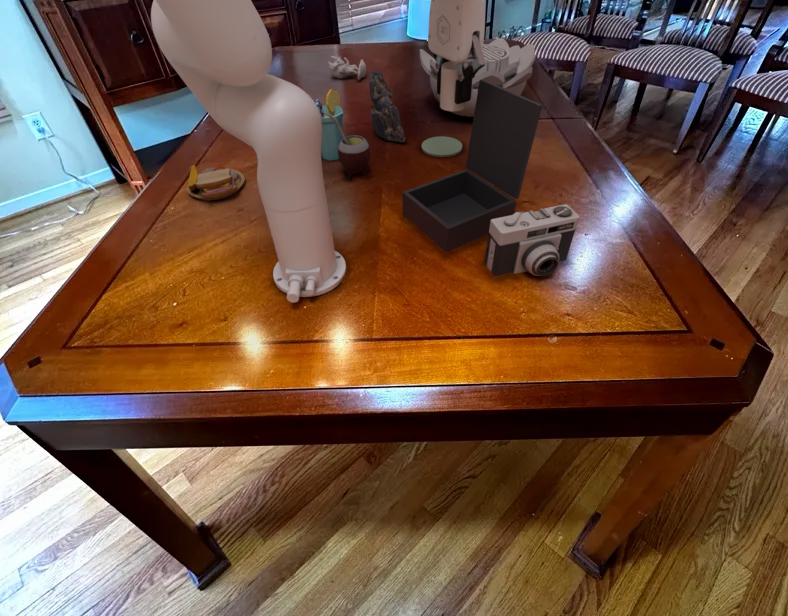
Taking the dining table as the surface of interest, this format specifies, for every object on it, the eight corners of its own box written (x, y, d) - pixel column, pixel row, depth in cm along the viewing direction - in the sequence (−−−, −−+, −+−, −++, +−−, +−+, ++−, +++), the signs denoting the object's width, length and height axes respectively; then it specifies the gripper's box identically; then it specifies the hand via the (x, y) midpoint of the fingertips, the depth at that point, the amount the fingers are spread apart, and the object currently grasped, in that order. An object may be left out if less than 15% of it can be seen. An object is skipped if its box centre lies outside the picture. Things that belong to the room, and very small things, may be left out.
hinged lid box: (446, 255, 81) (447, 228, 77) (402, 217, 90) (402, 191, 86) (511, 227, 86) (516, 200, 82) (464, 194, 95) (466, 168, 91)
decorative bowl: (554, 121, 119) (568, 59, 109) (454, 142, 112) (459, 78, 102) (495, 84, 139) (502, 29, 129) (407, 100, 132) (407, 43, 122)
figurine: (365, 68, 140) (327, 61, 140) (363, 88, 145) (326, 81, 144) (368, 56, 147) (332, 49, 146) (366, 76, 151) (331, 70, 150)
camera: (503, 294, 73) (512, 245, 66) (482, 263, 79) (489, 215, 72) (578, 276, 76) (596, 227, 69) (553, 248, 81) (566, 200, 74)
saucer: (464, 156, 107) (464, 154, 106) (422, 157, 107) (422, 155, 107) (459, 137, 114) (459, 135, 114) (420, 139, 114) (420, 137, 114)
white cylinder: (467, 111, 81) (470, 69, 76) (440, 112, 82) (442, 70, 77) (464, 100, 85) (467, 60, 80) (439, 101, 85) (440, 61, 80)
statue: (395, 148, 111) (393, 84, 100) (366, 132, 118) (361, 71, 107) (412, 141, 113) (412, 77, 103) (383, 126, 120) (380, 65, 109)
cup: (339, 172, 103) (330, 105, 93) (307, 170, 104) (295, 104, 94) (354, 145, 113) (348, 81, 102) (324, 143, 114) (315, 80, 103)
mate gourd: (377, 170, 103) (373, 104, 93) (358, 186, 99) (351, 118, 88) (350, 163, 106) (343, 98, 95) (330, 178, 101) (321, 111, 91)
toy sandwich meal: (247, 170, 105) (241, 151, 102) (244, 201, 96) (238, 181, 92) (192, 177, 104) (184, 157, 100) (183, 208, 94) (175, 188, 91)
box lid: (539, 105, 71) (542, 104, 71) (479, 79, 79) (483, 79, 80) (515, 199, 82) (518, 198, 82) (465, 167, 91) (468, 166, 91)
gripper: (409, -30, 73) (411, 88, 86) (474, -13, 63) (465, 118, 76) (447, -36, 75) (443, 79, 88) (516, -21, 65) (499, 107, 78)
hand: (453, 96), depth 82 cm, fingers closed on white cylinder, 4 cm apart
